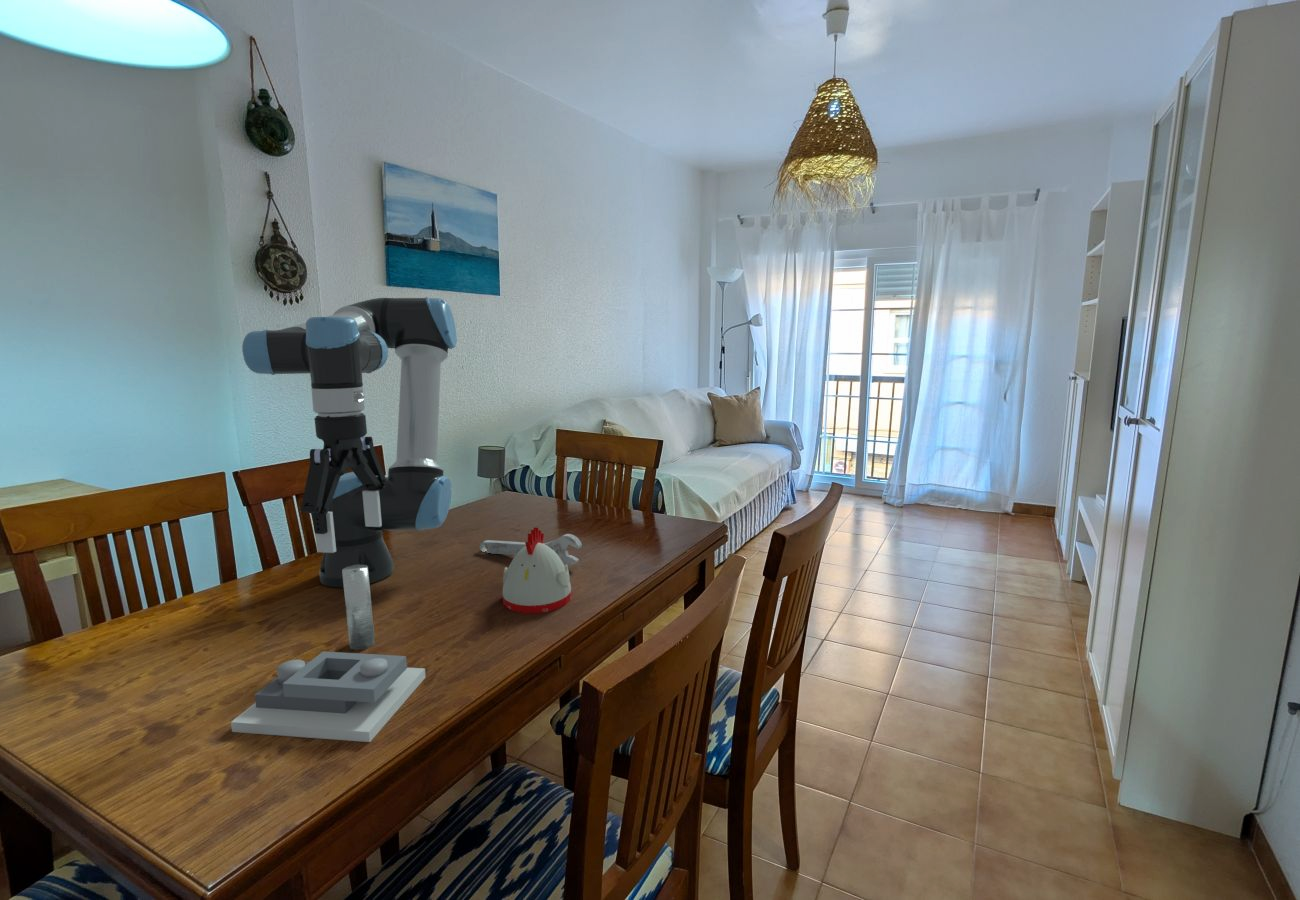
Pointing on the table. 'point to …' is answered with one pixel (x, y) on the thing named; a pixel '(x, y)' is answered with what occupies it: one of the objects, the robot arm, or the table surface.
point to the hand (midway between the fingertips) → (351, 538)
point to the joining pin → (358, 606)
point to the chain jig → (331, 697)
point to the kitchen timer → (536, 578)
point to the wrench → (557, 545)
